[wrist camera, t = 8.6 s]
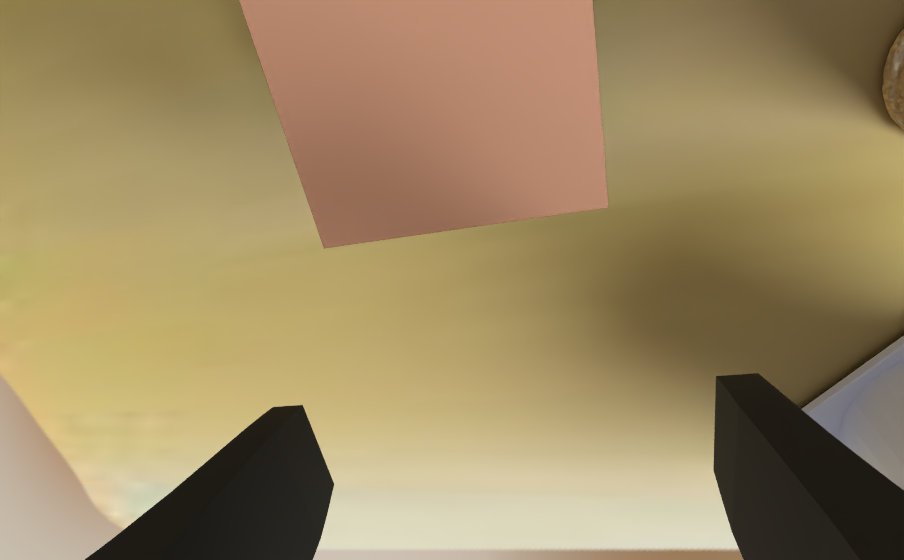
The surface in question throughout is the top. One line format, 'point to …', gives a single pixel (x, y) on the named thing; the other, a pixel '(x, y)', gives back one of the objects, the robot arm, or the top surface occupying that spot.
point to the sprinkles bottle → (895, 81)
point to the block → (434, 110)
